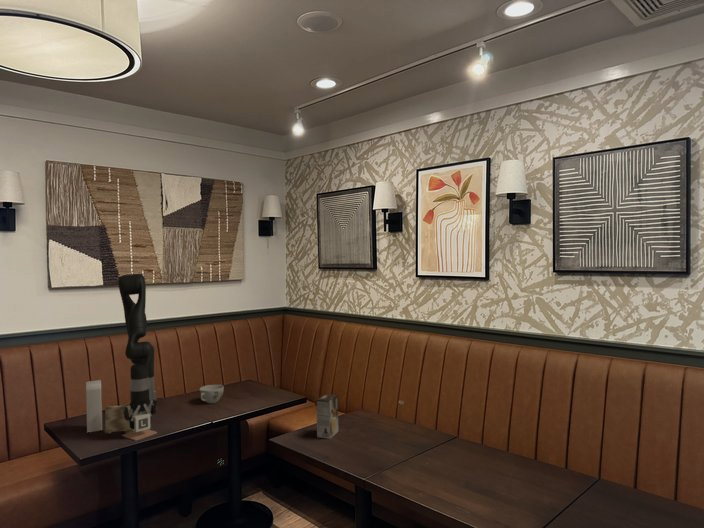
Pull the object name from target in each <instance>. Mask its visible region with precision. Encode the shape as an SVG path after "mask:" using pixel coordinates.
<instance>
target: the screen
mask: <svg viewBox="0 0 704 528" xmlns="http://www.w3.org/2000/svg"><path fill="white" fill-rule="evenodd" d="M123 406H124V405H106V406H105V407H104V411H105V413H104V415H105V417H104V418H105V422H104V423H105V430H104V434H111V433H118V432H117V431H125V432H124V434H127V433H130V432H133V431H134V430H132V429H131V428H130V423H129V421H127V420H125V418H124V412H123ZM131 411H132V409H131V408H130V409H129V411H128V412H129V417H130V415H131Z"/></svg>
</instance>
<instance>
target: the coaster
mask: <svg viewBox="0 0 704 528" xmlns="http://www.w3.org/2000/svg"><path fill="white" fill-rule="evenodd" d="M156 434H158V432H157V431H155V430H151V429H146V430H143V431H139V432H135V431H132V432H130V433H124V434H122V435H121V437H123V436H124V438H126V439H129V440H132V441H134V442H137V441H139V440H142V439H145V438H147V437H151V436H154V435H156Z"/></svg>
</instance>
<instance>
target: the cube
mask: <svg viewBox="0 0 704 528" xmlns="http://www.w3.org/2000/svg"><path fill="white" fill-rule="evenodd" d="M146 429H149V430H151V424H150V414H147V413H145V412H141V413H137V415H136V416H135V417H134V429H133V430H134V431H135V432H139V431H143V430H146Z"/></svg>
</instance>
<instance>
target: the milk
mask: <svg viewBox="0 0 704 528" xmlns="http://www.w3.org/2000/svg"><path fill="white" fill-rule="evenodd" d="M85 395H86V397H85V398H86V399H85V400H86V407H85V408H86V433H88V432H89V433H93V432H99V431H100V430H101V431H103V404H102V403H103V402H102V400H103V399H102V380H101V379H97V380H89V381H86V382H85Z"/></svg>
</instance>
